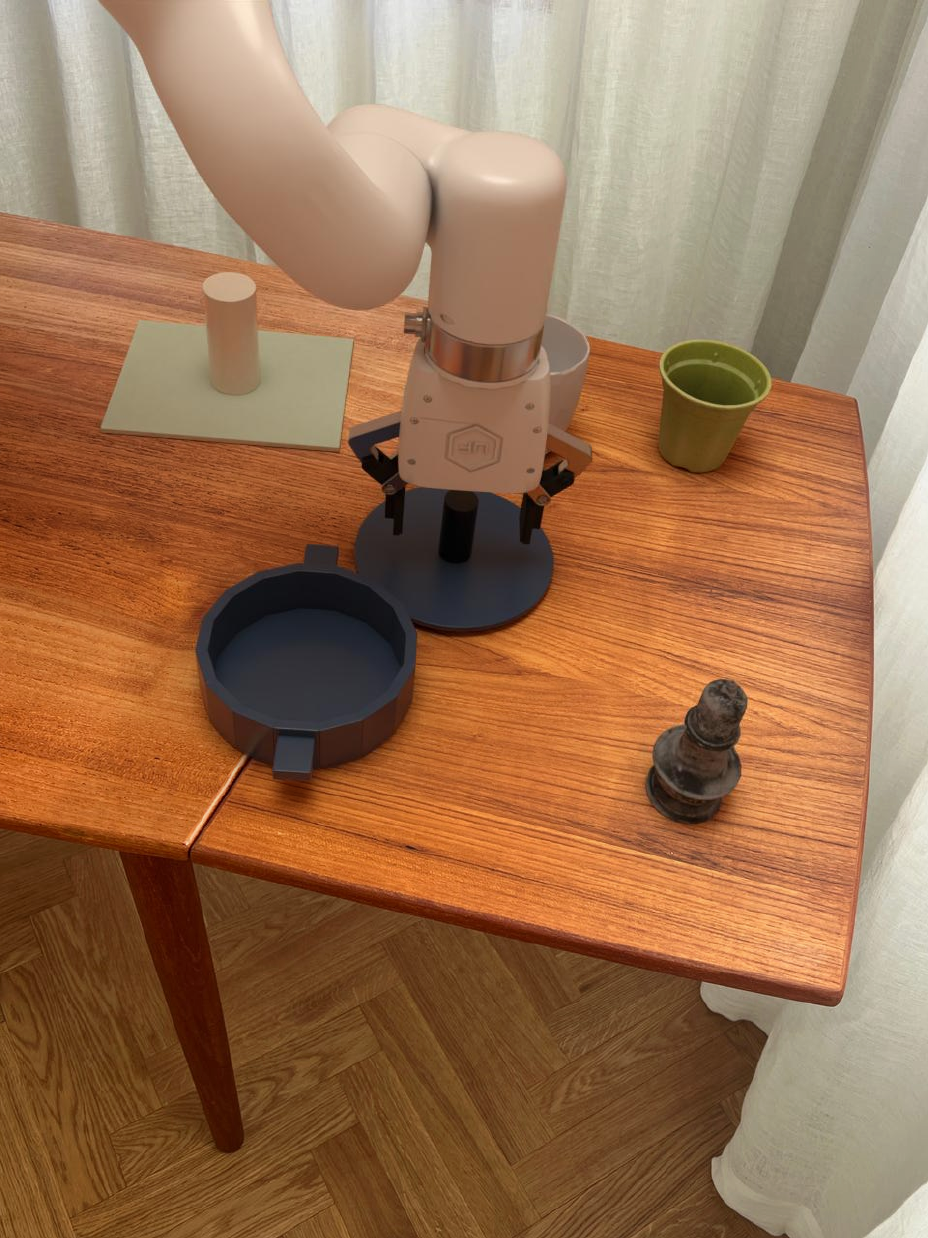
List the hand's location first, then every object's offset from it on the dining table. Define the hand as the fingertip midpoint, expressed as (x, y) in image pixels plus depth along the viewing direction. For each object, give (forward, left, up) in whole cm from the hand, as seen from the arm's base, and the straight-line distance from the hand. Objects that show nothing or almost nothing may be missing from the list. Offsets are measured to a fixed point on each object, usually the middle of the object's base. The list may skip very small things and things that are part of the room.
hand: (461, 527), depth 85 cm
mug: (+4, +17, -4) cm, 18 cm away
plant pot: (+21, +16, -4) cm, 26 cm away
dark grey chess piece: (+16, -20, -4) cm, 26 cm away
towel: (-20, +20, -4) cm, 29 cm away
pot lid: (0, 0, -3) cm, 3 cm away
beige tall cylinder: (-20, +20, -3) cm, 29 cm away
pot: (-10, -13, -4) cm, 17 cm away
